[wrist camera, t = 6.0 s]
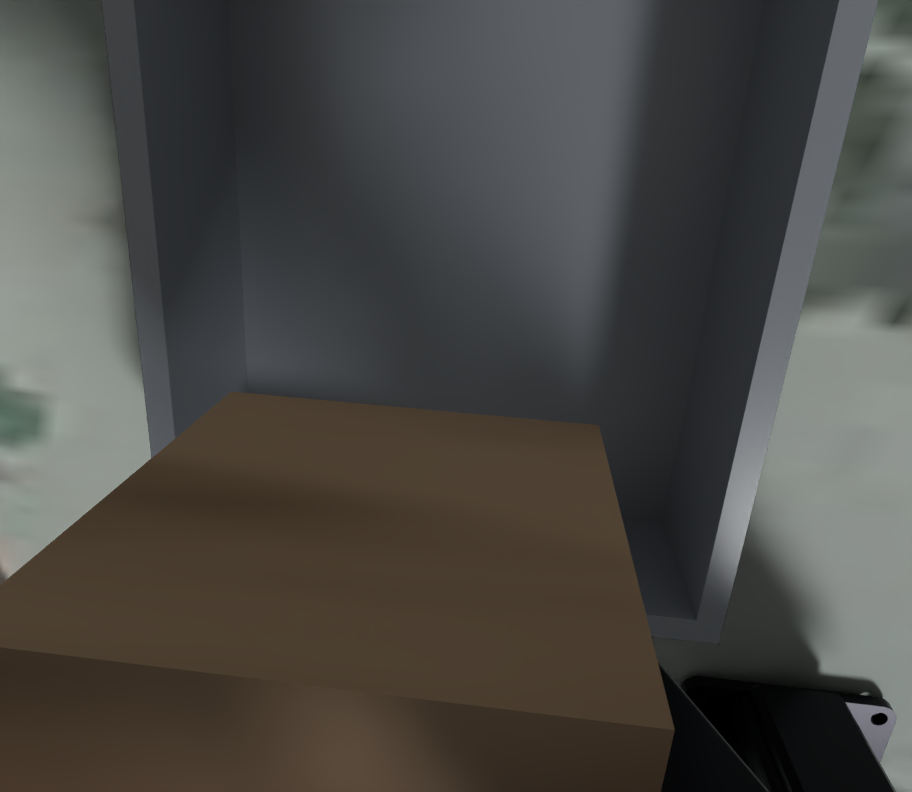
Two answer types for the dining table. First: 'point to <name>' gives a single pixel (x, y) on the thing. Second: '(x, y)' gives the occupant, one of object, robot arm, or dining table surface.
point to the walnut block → (339, 615)
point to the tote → (495, 226)
